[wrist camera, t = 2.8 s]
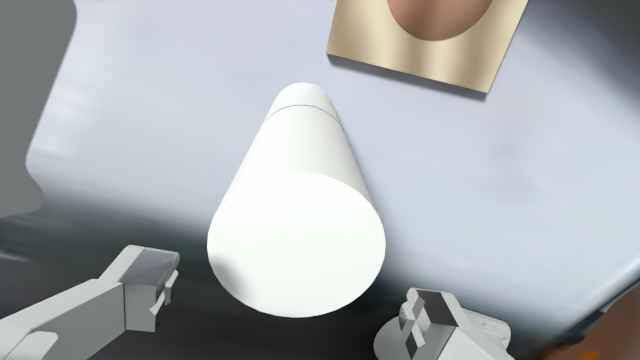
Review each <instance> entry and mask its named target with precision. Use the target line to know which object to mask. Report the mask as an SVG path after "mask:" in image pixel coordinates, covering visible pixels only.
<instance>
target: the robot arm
mask: <svg viewBox="0 0 640 360" xmlns="http://www.w3.org/2000/svg"><path fill="white" fill-rule="evenodd" d="M178 263H179V254H178V253H177V252H171V251H165V250H159V249H153V248H148V247H147V248H145V247H140V246H134V245H129V246H127V247H126V248H125V249H124V250H123V251H122V252H121V253H120V255H119V256H118V257H117V258H116V259H115V260H114V261H113V263H112V264H111V265H110V266H109V267H108V268H107V270H106V271H105V272H104V273H103V274H102V275H101V276H100V278H99V279H91V280H89V281H87V282H85V283H82V284H80V285H78V286H76V287H73V288H71V289H69V290H66V291H64V292H62V293H60V294H57V295H55V296H53V297H51V298H48V299H46V300H44V301H42V302H39V303H37V304H35V305H33V306H30V307H28V308H26V309H24V310H21V311H19V312H17V313H15V314H12V315H10V316H8V317H6V318H3V319H1V320H0V360H86V359H88V358H89V357H90V356H92V355H93V354H94V353H96V352H97V351H98V350H100V349H101V348H102V347H104V346H105V345H106V344H108V343H109V342H110V341H112V340H113V339H115V338H116V337H117V336H119V335H120V334H121V333H123V332H124V331H125V329H127V330H139V331H151V332H155V331H156V329H157V327H158V325H159V323H160V321H161V319H162V317H163V315H164V308H165V305H167V304H168V303H170V302H171V299H172V297H173V295H174V292H175V289H176V286H177V281H178V272H177V271H176V270H175V269H176V267H177V265H178ZM406 296H407V299H408V301H407V302H405V303H404V304H402V306H401V309H400V311H399V316H397V317H395V318H393V319H392V320H390V321H389V322H387V323H386V324H385V325H384V326H383V327H382V328H381V329H380V330H379V332H378V333H377V335H376V337H375V340H374V352H375V354H376V356H377V358H378V359H379V360H515V359H513V358H512V357H511V356H510V355H508V354H507V351H506V348H507V346H508V343H509V340H510V335H511V333H510V328H509V326H508V324H507V323H506V322H504V321H501V320H498V319H495V318H492V317H489V316H486V315H483V314H480V313H477V312H473V311H470V310H467V309H464V308H461V306H460V305H459V303H458V301H457V300H456V298H455V296H454V295H453V294H452V293H450V292H442V291H433V290H425V289H418V288H411V289H410V290H409V291H408V293H407V295H406Z"/></svg>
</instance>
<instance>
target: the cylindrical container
mask: <svg viewBox="0 0 640 360" xmlns="http://www.w3.org/2000/svg"><path fill="white" fill-rule="evenodd" d="M385 247H386V241H385V233H384V229H383V226H382V223H381V220H380V218H379V215H378V213H377V210H376V208H375V205H374V203H373V201H372V198H371V196H370V193H369V191H368V188H367V186H366V184H365V181H364V179H363V176H362V174H361V171H360V169H359V166H358V164H357V162H356V159H355V157H354V154H353V152H352V150H351V147H350V145H349V142H348V140H347V138H346V135H345V133H344V130H343V128H342V125H341V123H340V121H339V118H338V116H337V113H336V111H335V108H334V106H333V104H332V101H331V99H330V98H329V96H328V95H327V94H326V93H325V92H324V91H323V90H322V89H321V88H319V87H317V86H315V85H313V84H309V83H296V84H293V85H290V86H288V87H286V88H285V89H283V90H282V91H281V92H280V93H279V94H278V96H277V97H276V99H275V101H274V103H273V105H272V107H271V109H270V111H269V112H268V114H267V116H266V118H265V120H264V122H263V124H262V126H261V128H260V129H259V131H258V133H257V135H256V137H255V139H254V141H253V143H252V145H251V147H250V149H249V151H248V153H247V155H246V157H245V158H244V160H243V162H242V164H241V166H240V168H239V170H238V172H237V174H236V176H235V177H234V179H233V181H232V183H231V185H230V187H229V189H228V191H227V193H226V195H225V196H224V198H223V200H222V202H221V204H220V206H219V208H218V210H217V212H216V213H215V215H214V217H213V220H212V223H211V226H210V229H209V232H208V243H207V250H208V256H209V261H210V264H211V266H212V269H213V271H214V273H215V275H216V277H217V278H218V280H219V281H220V283H221V284H222V285H223V287H224V288H225V289H226V290H228V291H229V292H230V293H231V294H232V295H233V296H234V297H235V298H237V299H238V300H240V301H241V302H243V303H244V304H246V305H248V306H250V307H252V308H254V309H257V310H259V311H261V312H265V313H269V314H272V315H276V316H285V317H310V316H316V315H321V314H325V313H328V312H331V311H334V310H337V309H339V308H341V307H343V306H345V305H347V304H349V303H350V302H352V301H353V300H355V299H356V298H357V297H359V296H360V295H361V294H362V293H363V292H364V291H365V290H366V289H367V288H368V287H369V286H370V285H371V284H372V283H373V281H374V279H375V278H376V276H377V275H378V273H379V271H380V269H381V266H382V263H383V260H384V256H385Z"/></svg>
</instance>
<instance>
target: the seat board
mask: <svg viewBox="0 0 640 360" xmlns="http://www.w3.org/2000/svg"><path fill="white" fill-rule="evenodd" d="M527 2H528V0H337V4H336V9H335V14H334V18H333V23H332V27H331V32H330V36H329V41H328V46H327V50H326V53H327V54H331V55H336V56H340V57H344V58H348V59H352V60H356V61H360V62H364V63H368V64H372V65H376V66H380V67H384V68H388V69H392V70H396V71H400V72H404V73H408V74H412V75H416V76H420V77H424V78H429V79H433V80H437V81H441V82H445V83H449V84H453V85H457V86H461V87H465V88H469V89H473V90H477V91H481V92H485V93H488V91H489V89H490V86H491V84H492V82H493V79H494V77H495V75H496V73H497V70H498V68H499V66H500V63H501V61H502V59H503V57H504V54H505V52H506V50H507V47H508V45H509V43H510V41H511V38H512V36H513V34H514V31H515V29H516V27H517V25H518V22H519V20H520V18H521V15H522V13H523V11H524V9H525V6H526V4H527Z"/></svg>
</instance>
